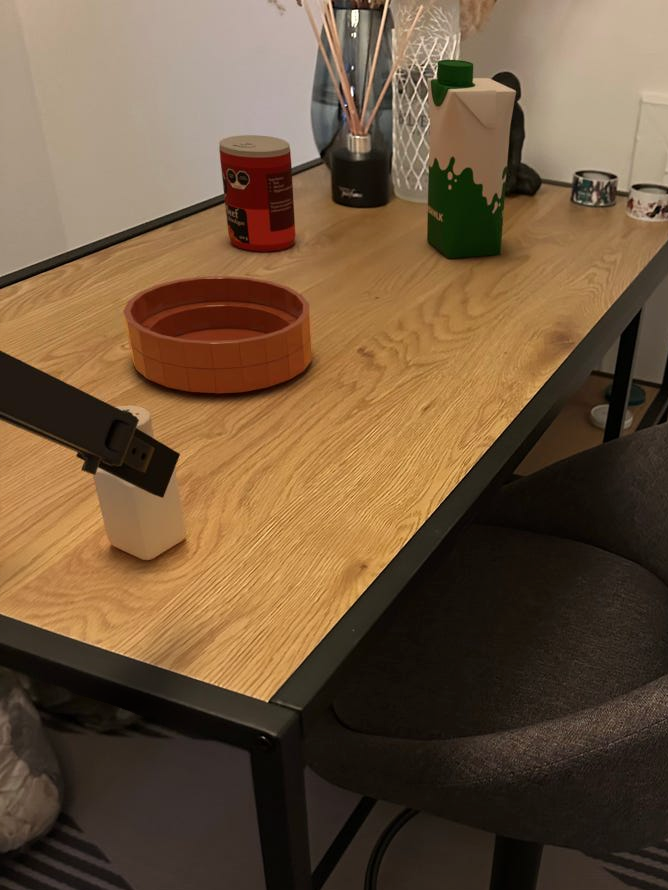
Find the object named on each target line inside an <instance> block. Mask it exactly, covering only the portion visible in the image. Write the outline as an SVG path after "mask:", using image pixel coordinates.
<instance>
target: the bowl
mask: <svg viewBox="0 0 668 890" xmlns="http://www.w3.org/2000/svg"><path fill="white" fill-rule="evenodd" d="M122 313H123V317H124V323H125V328H126V329H125V330H126V334H127V338H128V339H127V340H128V344H129V350H130V355H131V360H132V363H133V366H134V369H135V370H136V371H137V372H138V373H139V374H141V375H142V376H143V377H144V378H146V380H149V381H151V382H154V383H155V384H158V385H161V386H163V387H165V388H169V389H174V390H179V391H184V392H188V393H189V392H191V393H204V394H205V393H206V394H231V393H245V392H251V391H256V390H261V389H266V388H269V387H273V386H276V385H279V384H281V383H284V382H287V381H290V380H292V379H293V378H295V377H296V376H298V375H300V374H301V373H302V372H304V371H306V369H307V367H308V366H309V365H310V364H311V362H312V360H313V345H312V344H313V342H312V327H311V325H312V323H311V307H310V303H309V301H308V300H307V299H306V298H305V296H304V295H302V293H299V292H298V291H296V290H294V289H293V288H292V287H290V286H286V285H283V284H280V283H277V282H275V281H271V280H265V279H259V278H254V277H248V276H232V275H215V276H211V275H209V276H197V277H188V278H181V279H174V280H172V281H167V282H163V283H159V284H156V285H153V286H151V287H149V288H146V289H144V290H141V291H139V292H138V293H136V294H135V295H134V296H133V297H131V298H130V299H128V301H127V302H126V304H125V307H124V308H123V311H122Z"/></svg>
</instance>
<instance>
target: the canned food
mask: <svg viewBox="0 0 668 890" xmlns="http://www.w3.org/2000/svg"><path fill="white" fill-rule="evenodd" d="M218 144H219V146H218V147H219V148H218V150H219V161H220V170H221V179H222V189H223V196H224V205H225V216H226V223H227V224H226V225H227V234H228V237H229V240H230V242H231V244H232V245H233V246H234V247H236V248H238V249H240V250H244V249H245V250H244V251H251V252H261V253H264V252H265V253H266V252H267V253H269V252H278V251H283V250H287V249H289V248H290V247H292V246H293V245H294V243H295V239H296V220H295V218H296V217H295V205H294V204H295V203H294V202H295V201H294V184H293V170H292V169H293V168H292V154H291V147H290V145H291V144H290V143H289V142H288V141H287V140H284V139H282V138H278V137H274V136H269V135H257V134H244V135H243V134H242V135H234V136H229V137H225V138H223V139H221V140H219V143H218Z"/></svg>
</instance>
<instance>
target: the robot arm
mask: <svg viewBox="0 0 668 890" xmlns="http://www.w3.org/2000/svg"><path fill="white" fill-rule="evenodd" d="M0 421H1V422H5V423H6V424H9V425H11V426H14V427H16V428H19V429H21V430H23V431H26V432H28V433H30V434H33V435H35V436H38V437H40V438H42V439H44V440H48V441H50V442H52V443H54V444H56V445H59V446H61V447H63V448H66V449H69V450H71V451H74V452H76V458H78V459H80V460H82V461H83V463H82V467H81V469H80V470H81V471H82V472H84V473H88V474H91V475H92V476H93V475H95V474H96V472H97V469H98V468H100V469H102V470H104V471H106V472H108V473H110V474H112V475H114V476H116V477H118V478H120V479H122V480H124V481H127V482H129V483H131V484H133V485H135V486H137V487H139V488H141V489H143V490H145V491H147V492H149V493H151V494H153V495H156V496H159V497H162V498H163V497H164V494H165V492H166V489H167V487H168V484H169V482H170V479H171V477H172V474H173V471H174V469H175V467H177V464H178V461H179V459H180V456H181V453H180V452H178V451H176V450H174V449H172V448H171V447H170V446H167V445H166V444H164V443H162V442H160V441H159V440H157V439H156V438H155V437H154V438H155V439H154V438H152V437H151V436H149V435H147V434H145V433H144V432H142V431H140V430H139V429H137V428H136V427H137V424H138V422H139V419H137V417H136V416H133V414H132V413H130V412H128V411H126V410H123V411H122V410H120V409H118V408H116V406H114V405H112V404H109V403H108V402H105V401H103V400H102V399H100V398H97V397H95V396H93V395H91V394H90V393H88V392H86V391H83V390H81V389H79V388H77V387H76V386H73V385H71V384H69V383H67V382H65V381H63V380H61V379H59V378H57V377H55V376H53V375H51V374H49V373H47V372H45V371H43V370H42V369H39V368H36V367H35V366H33V365H31V364H29V363H26V362H25V361H23V360H22V359H21V360H20V359H19V358H16V357H14V356H13V355H11V354H8V353H6V352H4V351H2V350H0Z"/></svg>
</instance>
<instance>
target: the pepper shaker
mask: <svg viewBox="0 0 668 890" xmlns="http://www.w3.org/2000/svg"><path fill="white" fill-rule="evenodd" d="M115 407H116V408H118V409H120V410H122V411H123V410H126V411H128V412H130V413H132V414H133V416H136V417H137V419H139V422H138V424H137V427H136V428H137V429H139V430H140V431H142V432H144V433H145V434H147V435H149V436H151V437H152V438H154V439H156V438H155V434H154V433H155V432H154V427H153V424H152V423H153V421H152V417H151V412H149V411H148V410H147V409H145V408H144V407H141V406H136V405H117V406H115ZM176 467H177V466H175V469H174V471H173V474H172V477H171V479H170V482H169V484H168V487H167V489H166V492H165V494H164V497H163V498H162V497H159V496H156V495H153V494H151V493H149V492H147V491H145V490H143V489H141V488H139V487H137V486H135V485H133V484H131V483H129V482H127V481H124V480H122V479H120V478H118V477H116V476H114V475H112V474H110V473H108V472H106V471H104V470H102V469H100V468H98V469H97V472H96V474H95V475H93V474H92V477H93V482H94V486H95V490H96V494H97V500H98V503H99V508H100V511H101V516H102V521H103V525H104V529H105V534H106V539H107V540H108V542H109V543H110V545H111V546H113V547H115V548H117V549H119V550H121V551H123V552H125V553H127V554H130V555H131V556H133V557H136V558H138V559H140V560H143V561H149V560H153V559H155V558H156V557H158V556H160V555H161V554H163V553H165V552H166V551H168V550H169V549H171V548H172V547H174V546H176V545H177V544H179V543H181V542H182V541H184V539H185V538H186V535H187V529H186V528H187V527H186V522H185V515H184V510H183V504H182V499H181V493H180V487H179V481H178V475H177V469H176Z"/></svg>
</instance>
